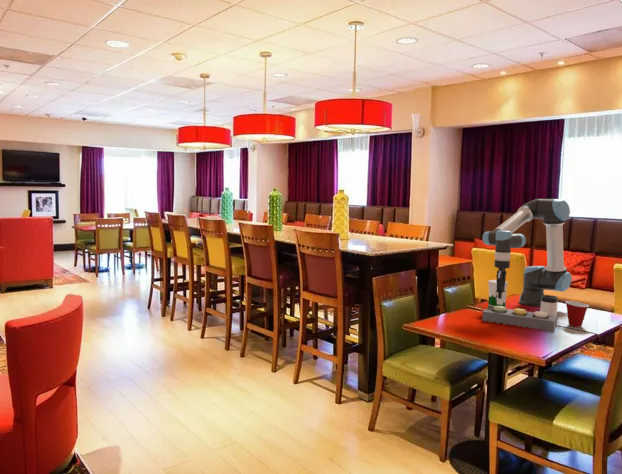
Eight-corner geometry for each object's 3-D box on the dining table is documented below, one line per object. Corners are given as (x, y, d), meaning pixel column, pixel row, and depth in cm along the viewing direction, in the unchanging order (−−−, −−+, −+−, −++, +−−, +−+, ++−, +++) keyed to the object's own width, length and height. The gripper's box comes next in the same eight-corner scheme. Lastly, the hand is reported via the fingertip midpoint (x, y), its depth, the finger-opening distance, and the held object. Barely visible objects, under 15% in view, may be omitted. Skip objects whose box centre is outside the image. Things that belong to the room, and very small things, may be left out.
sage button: (495, 308, 267) (495, 305, 267) (506, 310, 264) (506, 306, 263) (492, 311, 262) (492, 307, 262) (504, 312, 259) (504, 309, 258)
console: (488, 315, 273) (489, 306, 272) (557, 325, 254) (557, 315, 254) (482, 320, 261) (482, 311, 261) (553, 331, 243) (554, 321, 242)
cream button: (535, 314, 256) (535, 310, 256) (548, 316, 253) (548, 312, 253) (533, 316, 251) (533, 312, 251) (546, 318, 248) (546, 314, 248)
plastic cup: (590, 329, 248) (592, 305, 247) (567, 327, 250) (569, 304, 249) (583, 323, 259) (585, 301, 257) (561, 322, 261) (562, 299, 260)
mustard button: (514, 311, 261) (514, 307, 261) (527, 313, 258) (527, 309, 258) (512, 313, 256) (512, 310, 256) (524, 315, 253) (525, 311, 253)
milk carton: (508, 313, 277) (510, 278, 275) (496, 315, 273) (498, 279, 272) (496, 310, 285) (498, 275, 283) (484, 311, 281) (486, 276, 279)
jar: (559, 318, 268) (561, 297, 267) (552, 321, 263) (554, 299, 262) (543, 315, 275) (544, 294, 274) (536, 317, 270) (537, 296, 268)
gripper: (497, 258, 268) (495, 301, 270) (492, 260, 257) (489, 305, 259) (512, 259, 264) (509, 303, 266) (507, 262, 253) (504, 307, 255)
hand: (499, 304), depth 262 cm, fingers closed
